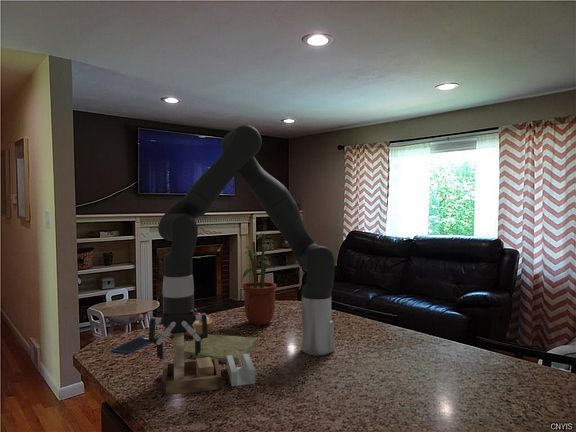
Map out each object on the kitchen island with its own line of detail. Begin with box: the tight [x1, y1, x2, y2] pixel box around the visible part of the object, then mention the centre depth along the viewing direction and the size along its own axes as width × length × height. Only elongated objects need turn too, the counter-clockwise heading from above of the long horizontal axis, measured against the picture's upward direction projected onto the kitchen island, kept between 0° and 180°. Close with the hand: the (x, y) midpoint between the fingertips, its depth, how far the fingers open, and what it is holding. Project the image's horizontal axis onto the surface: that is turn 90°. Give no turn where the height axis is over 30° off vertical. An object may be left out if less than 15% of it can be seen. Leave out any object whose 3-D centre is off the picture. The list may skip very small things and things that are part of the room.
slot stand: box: [226, 353, 256, 387], centre depth 104 cm, size 6×11×4 cm, turn 15°
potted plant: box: [241, 233, 277, 326], centre depth 153 cm, size 17×16×35 cm
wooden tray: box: [161, 358, 223, 397], centre depth 101 cm, size 14×12×4 cm
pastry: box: [184, 307, 214, 338], centre depth 142 cm, size 12×12×9 cm
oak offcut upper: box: [195, 357, 214, 377], centre depth 101 cm, size 4×6×2 cm, turn 19°
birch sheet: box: [173, 333, 185, 380], centre depth 100 cm, size 2×9×13 cm, turn 15°
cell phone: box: [110, 336, 151, 355], centre depth 129 cm, size 7×14×1 cm, turn 162°
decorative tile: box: [184, 333, 258, 364], centre depth 123 cm, size 19×20×4 cm
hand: (179, 356), depth 100 cm, fingers open, 8 cm apart
